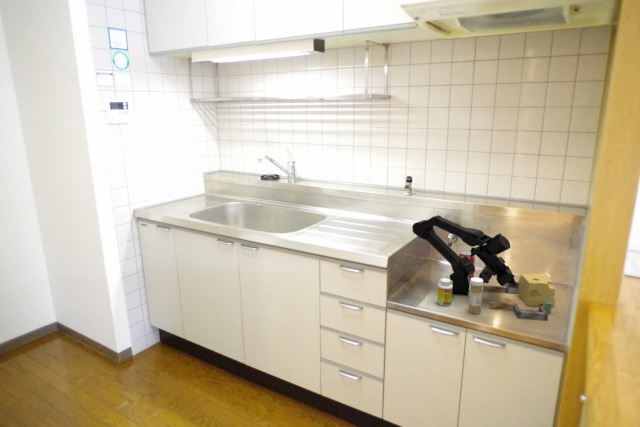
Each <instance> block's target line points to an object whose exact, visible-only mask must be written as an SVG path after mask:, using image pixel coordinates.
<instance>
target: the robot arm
mask: <svg viewBox="0 0 640 427" xmlns="http://www.w3.org/2000/svg"><path fill="white" fill-rule="evenodd" d="M434 227H437V228H439V229H441V230H443V231H445V232H447V233H450V234H452V235H454V236H455V237H458V238H460V239H461V241H462V242H463V243H464V244H466V245H468V246H470V247H471V249H470V251H471V255H470V256H471V257H472V256H474V255H475V256H476V257H477V258H479V260H480V261H481V262H482V263H483V265H484V267H483V268H482V270H481V271H480V272H479V273H480V274H479V275H478V278H481V279H483V284H489V282H490V280H491V279H492V277H496V281H497V283H498V285H499V286H503V285H505V284H506V283H507V282H508V283H509V284H511V285H513V286H516V282H517V281H516V280H515V275H514V273H513V271H512V270H511V269H510V267H509V266H508V265H506V261H505V259H504V258H503V257H502V256H498V255H499V254H502V253H504V252H506V251H507V250H510V249H511V243H510V241H509V239H508V238H507V237H506V236H504V235H502V233H501V232H499V233H498V234H496V235H494V236H493V237H492V236H489V235H487V234H485V232H483V230H480V229H476V228H474V227H473V228H472V227H466V226H463V225H460V224H458V223H455V222H453V221H451V220H449V219H447V218H444V217H442V215H439V214H437V215H434V216H431V217H430V218H427V219H422V220H420V221H416V222H415V223H413V225H412V227H411V228H412V229H411V230H412V232H413V234H414V235H416V236H417V237H418V238H420V239H422V240H425V241H427V243H429V245H431V246H432V247H433V249H435V250H436V251H437V252H438V253H439V254H440V255H441V256H442V257H443V258H444V259H445V260H446V261H447V262H448V263H449V264H450V266H451V269H452V273H451V274H449V279H450V280H451V284H452V286H453V288H452V296H453V295H454V296H466V297H467V296H469V294H470V288H471V284H470V282H469V281H468V278H470V277H471V275H473V274H474V275H475V272H476V266H474V265H473V264H472V263H473V262H472V261H470V260H469V259H468V257H466V256H465V257H463V258H462V257H460V256H459V254H458V253H456V251H454V249H452V248H451V247H450V246H449V244H448V243H446V241H444V240H443V239H442V238H441V237H440V236H439V235H437V233H436V231H435V229H434ZM476 246H477V247H476Z"/></svg>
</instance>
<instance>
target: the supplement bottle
mask: <svg viewBox="0 0 640 427" xmlns="http://www.w3.org/2000/svg"><path fill="white" fill-rule="evenodd" d="M437 286H438V287H437V298H436V299H437V300H436V301H437V304H438V305H440V306H442V307H443V306H444V307H448V306H451V305H452V299H453V294H452V288H453V286H452V280H450V278H444V277H443V278H442V277H441V279H440V282H439V283H438V285H437Z"/></svg>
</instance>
